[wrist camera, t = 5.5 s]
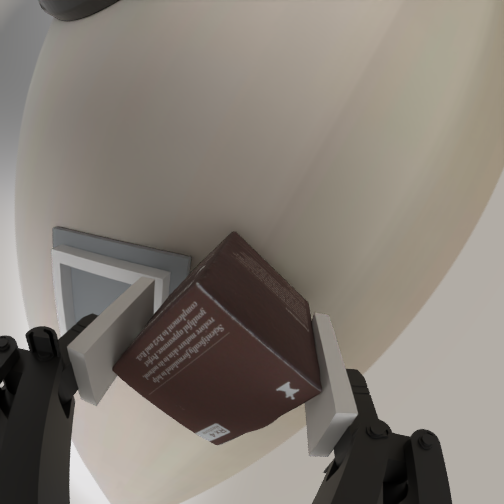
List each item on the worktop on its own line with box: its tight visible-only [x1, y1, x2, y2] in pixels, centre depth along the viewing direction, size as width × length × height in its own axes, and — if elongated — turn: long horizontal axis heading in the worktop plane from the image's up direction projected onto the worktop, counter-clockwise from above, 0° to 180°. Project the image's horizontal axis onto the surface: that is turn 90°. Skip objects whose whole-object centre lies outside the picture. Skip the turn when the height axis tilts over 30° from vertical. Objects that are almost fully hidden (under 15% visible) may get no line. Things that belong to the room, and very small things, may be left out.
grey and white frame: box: [51, 227, 191, 376], centre depth 21 cm, size 13×13×2 cm
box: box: [112, 232, 322, 445], centre depth 13 cm, size 6×6×7 cm
